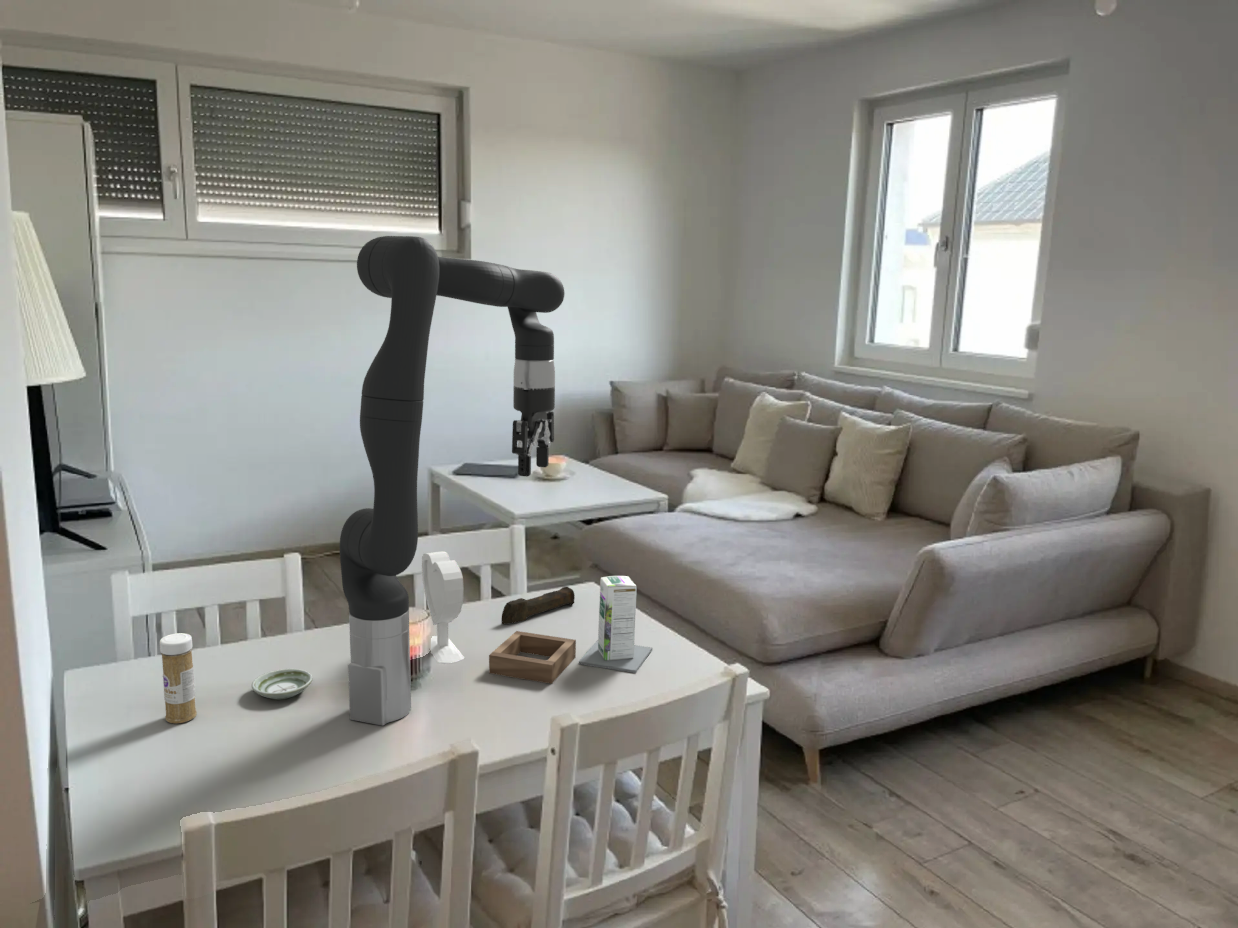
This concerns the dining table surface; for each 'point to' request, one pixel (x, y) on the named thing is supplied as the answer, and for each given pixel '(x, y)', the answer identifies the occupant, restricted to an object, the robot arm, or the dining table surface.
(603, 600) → the white drink carton
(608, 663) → the mat
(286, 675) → the saucer
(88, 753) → the dining table surface
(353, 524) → the robot arm
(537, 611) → the hand tool
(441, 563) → the heart sculpture
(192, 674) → the sprinkles bottle
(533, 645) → the collar
